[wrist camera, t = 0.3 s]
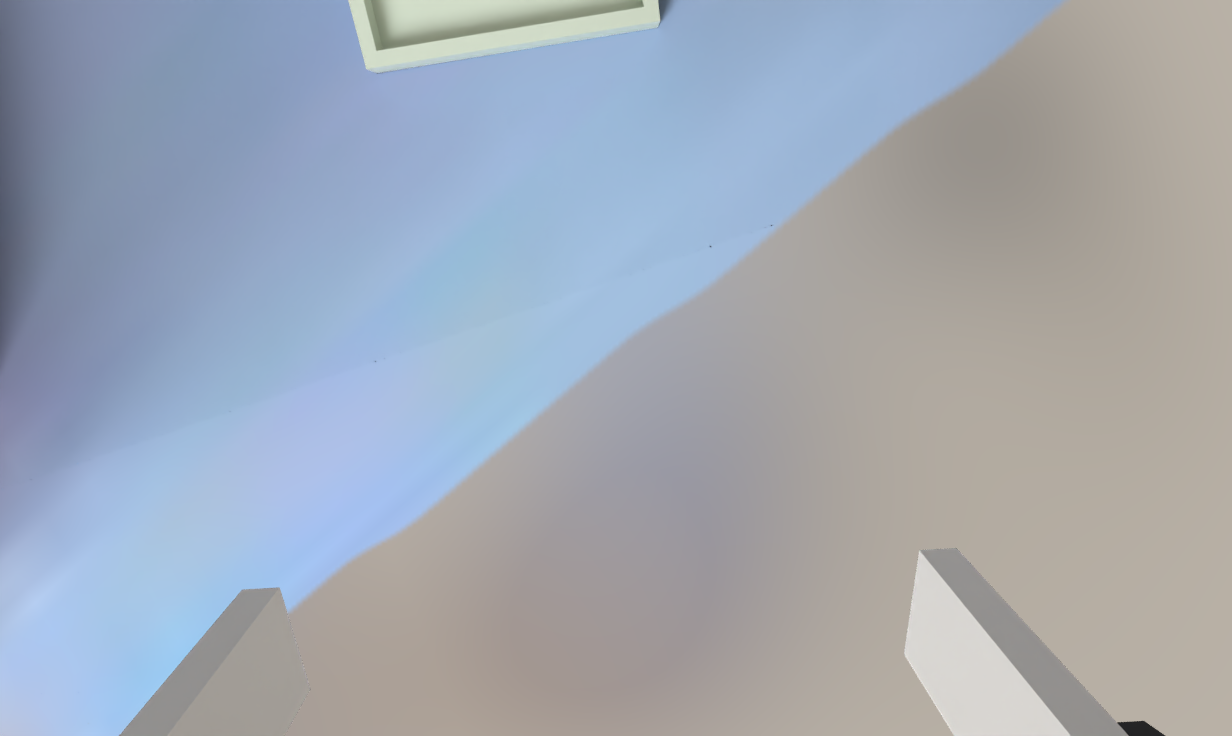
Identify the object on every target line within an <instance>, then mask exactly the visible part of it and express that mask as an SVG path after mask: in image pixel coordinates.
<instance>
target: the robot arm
mask: <svg viewBox="0 0 1232 736" xmlns="http://www.w3.org/2000/svg"><path fill="white" fill-rule="evenodd" d="M904 655H905V657H906V658H907V660H908V662H909V663H910V665H911V667H912V668H913V670H914V671H915V673H916V675H917V676H918V678H919V680H920V681H921V683H922V684H923V686H924V688H925V689H926V691H927V693H928V694H929V696H930V698H931V699H932V701H933V702H934V704H935V706H936V707H937V709H938V711H939V712H940V714H941V716H942V717H943V719H944V720H945V722H946V724H947V725H948V727H949V729H950V730H951V732H952V733H953V735H954V736H1165V735H1163V734H1162V733H1160V732H1159V731H1158V730H1156V729H1155V728H1153V727H1152V726H1150V725H1149V724H1148V723H1146V722H1145V721H1137V722H1118V723H1117V722H1116V721H1115V720H1114V719H1113V718H1112V717H1111V716H1110V715H1109V714H1108V713H1107V711H1106V710H1105V709H1104V708H1103V707H1102V706H1101V705H1100V704H1099V703H1098V702H1097V701H1096V699H1095V698H1094V697H1093V696H1092V695H1091V694H1090V693H1089V692H1088V691H1087V690H1086V689H1085V687H1084V686H1083V685H1082V684H1081V683H1080V682H1079V681H1078V680H1077V679H1076V678H1075V677H1074V676H1073V674H1072V673H1071V672H1070V671H1069V670H1068V669H1067V668H1066V667H1065V666H1064V665H1063V664H1062V663H1061V661H1060V660H1059V659H1058V658H1057V657H1056V656H1055V655H1054V654H1053V653H1052V652H1051V650H1050V649H1049V648H1048V647H1047V646H1046V645H1045V644H1044V643H1043V642H1042V641H1041V640H1040V638H1039V637H1038V636H1037V635H1036V634H1035V633H1034V632H1033V631H1032V630H1031V629H1030V628H1029V627H1028V625H1027V624H1026V623H1025V622H1024V621H1023V620H1022V619H1021V618H1020V617H1019V616H1018V615H1017V614H1016V612H1015V611H1014V610H1013V609H1012V608H1011V607H1010V606H1009V605H1008V604H1007V603H1006V601H1005V600H1004V599H1003V598H1002V597H1001V596H1000V595H999V594H998V593H997V592H996V591H995V589H994V588H993V587H992V586H991V585H990V584H989V583H988V582H987V581H986V580H985V579H984V578H983V577H982V575H981V574H980V573H979V572H978V571H977V570H976V569H975V568H974V567H973V566H972V564H971V563H970V562H969V561H968V560H967V559H966V558H965V557H964V556H963V555H962V554H961V552H960V551H959V550H958V549H957V548H951V549H934V550H920V551H919V556H918V563H917V570H916V577H915V583H914V590H913V598H912V604H911V610H910V617H909V624H908V631H907V637H906V644H905V651H904ZM309 691H310V686H309V683H308V679H307V676H306V673H305V669H304V666H303V663H302V660H301V656H300V653H299V650H298V647H297V644H296V640H295V637H294V633H293V630H292V627H291V624H290V620H289V617H288V614H287V610H286V607H285V604H284V600H283V597H282V594H281V591H280V588H263V589H246V590H241V592H240V593H239V594H238V595H237V596H236V598H235V599H234V600H233V601H232V602H231V604H230V605H229V606H228V607H227V608H226V609H225V611H224V612H223V613H222V614H221V615H220V617H219V618H218V619H217V620H216V621H215V623H214V624H213V625H212V626H211V627H210V628H209V630H208V631H207V632H206V633H205V634H204V636H203V637H202V638H201V639H200V640H199V641H198V643H197V644H196V645H195V646H194V647H193V649H192V650H191V651H190V652H189V653H188V655H187V656H186V657H185V658H184V659H183V660H182V662H181V663H180V664H179V665H178V666H177V668H176V669H175V670H174V671H173V672H172V674H171V675H170V676H169V677H168V678H167V679H166V681H165V682H164V683H163V684H162V685H161V687H160V688H159V689H158V690H157V691H156V693H155V694H154V695H153V696H152V697H151V698H150V700H149V701H148V702H147V703H146V704H145V706H144V707H143V708H142V709H141V710H140V712H139V713H138V714H137V715H136V716H135V717H134V719H133V720H132V721H131V722H130V723H129V725H128V726H127V727H126V728H125V729H124V731H123V732H122V733H121V734H120V735H119V736H285V734H286V733H287V731H288V729H289V727H290V725H291V724H292V722H293V720H294V718H295V716H296V715H297V713H298V711H299V709H300V707H301V706H302V704H303V702H304V700H305V698H306V697H307V695H308V693H309Z"/></svg>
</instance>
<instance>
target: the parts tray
mask: <svg viewBox="0 0 1232 736" xmlns="http://www.w3.org/2000/svg"><path fill="white" fill-rule="evenodd" d="M349 4H350V8H351V12H352V16H353V20H354V23H355V27H356V31H357V35H358V39H359V43H360V46H361V50H362V54H363V58H364V62H365V66H366V69H367V70H370V71H372V72H375V73H383V72H389V71H395V70H401V69H407V68H413V67H420V66H426V65H432V64H438V63H444V62H450V61H456V60H463V59H469V58H475V57H481V56H487V55H493V54H499V53H505V52H512V51H518V50H524V49H530V48H536V47H542V46H548V45H555V44H561V43H567V42H573V41H579V40H585V39H591V38H597V37H604V36H610V35H616V34H622V33H628V32H634V31H640V30H646V29H653V28H658V26H659V23H660V14H659V5H658V0H349Z"/></svg>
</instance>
